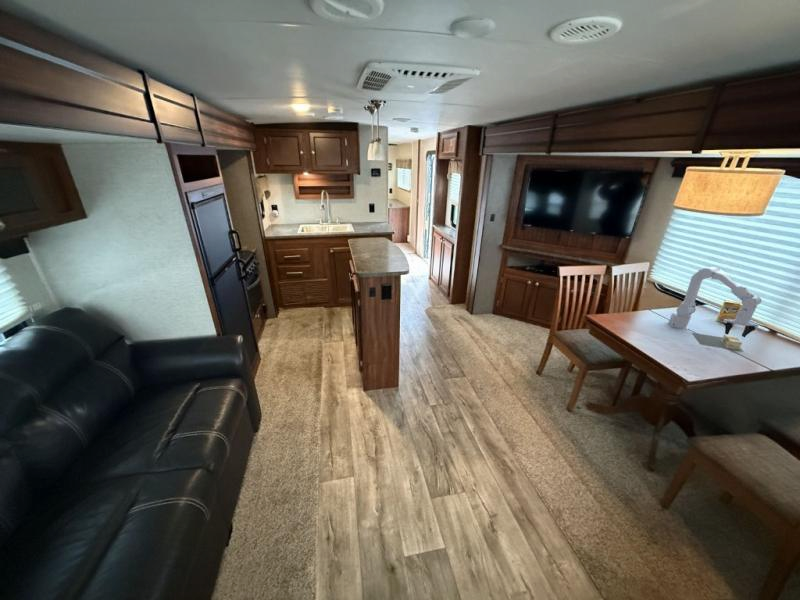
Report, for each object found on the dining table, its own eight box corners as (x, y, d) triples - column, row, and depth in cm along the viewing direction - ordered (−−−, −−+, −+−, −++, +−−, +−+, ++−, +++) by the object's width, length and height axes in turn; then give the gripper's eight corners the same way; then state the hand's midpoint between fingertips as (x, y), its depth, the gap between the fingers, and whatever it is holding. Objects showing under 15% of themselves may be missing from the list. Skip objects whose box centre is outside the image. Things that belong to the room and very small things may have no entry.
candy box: (716, 321, 216) (725, 301, 210) (715, 319, 219) (724, 299, 213) (733, 325, 210) (743, 305, 204) (733, 322, 213) (742, 303, 207)
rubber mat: (699, 344, 189) (700, 344, 189) (691, 332, 202) (691, 332, 202) (743, 352, 181) (743, 351, 181) (731, 339, 194) (731, 338, 194)
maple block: (721, 340, 192) (724, 334, 190) (732, 342, 190) (735, 335, 188) (727, 347, 185) (730, 341, 183) (738, 349, 183) (742, 343, 181)
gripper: (731, 315, 179) (721, 335, 185) (765, 320, 173) (754, 340, 179) (726, 310, 185) (716, 330, 190) (758, 315, 179) (748, 335, 184)
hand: (734, 335), depth 185 cm, fingers open, 7 cm apart
